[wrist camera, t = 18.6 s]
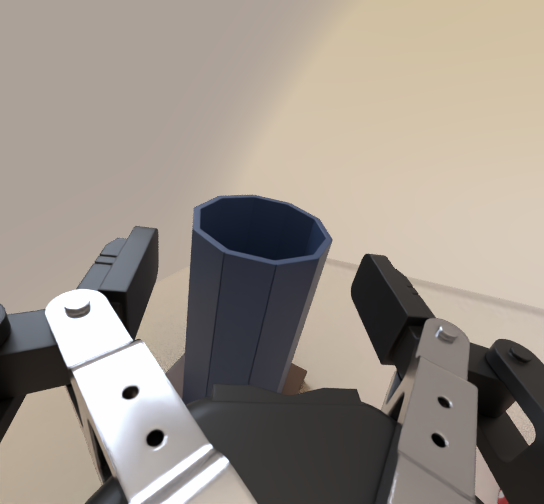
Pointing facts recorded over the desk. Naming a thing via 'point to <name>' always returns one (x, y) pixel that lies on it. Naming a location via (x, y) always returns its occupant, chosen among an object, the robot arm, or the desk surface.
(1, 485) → the desk surface
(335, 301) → the desk surface
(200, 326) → the tumbler
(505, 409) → the robot arm
